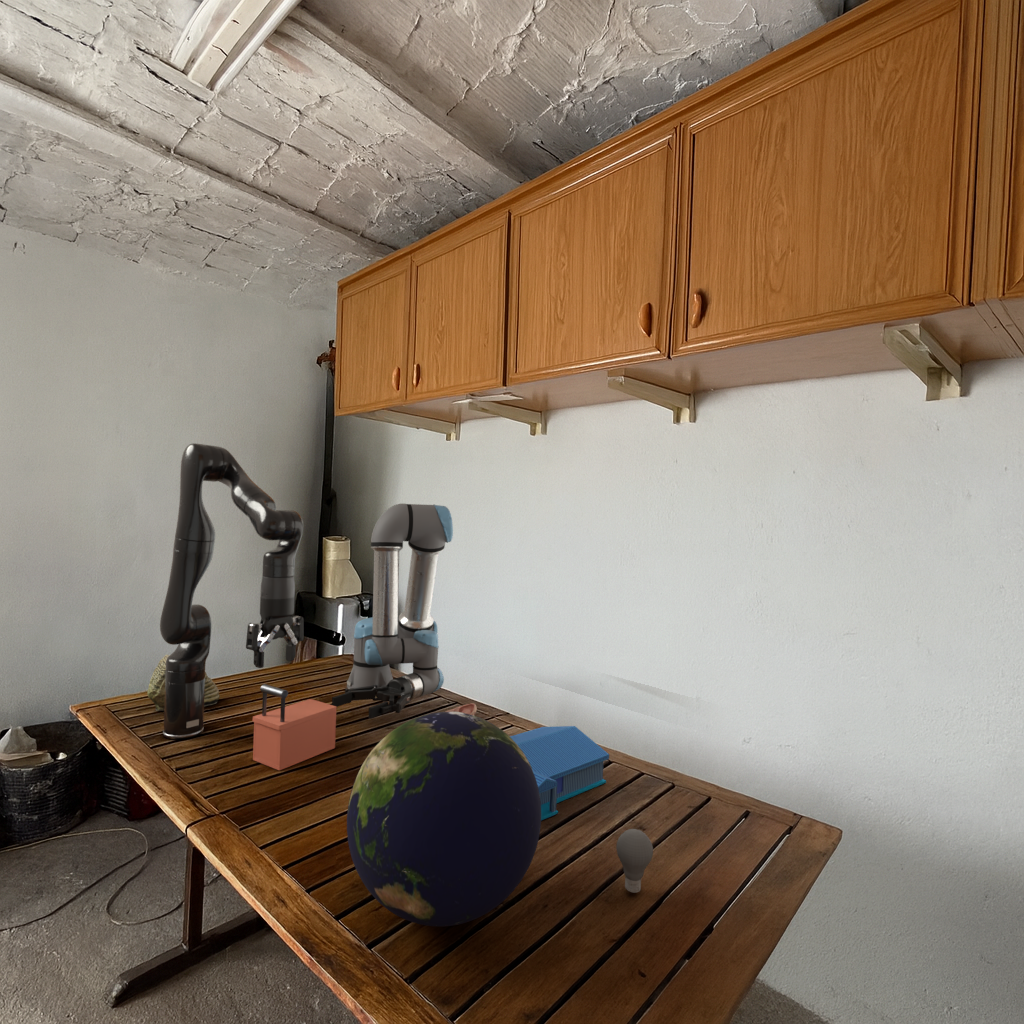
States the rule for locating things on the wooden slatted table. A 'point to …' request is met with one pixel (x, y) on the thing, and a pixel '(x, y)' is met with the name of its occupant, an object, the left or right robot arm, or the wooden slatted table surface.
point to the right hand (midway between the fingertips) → (350, 707)
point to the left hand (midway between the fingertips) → (275, 663)
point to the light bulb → (634, 857)
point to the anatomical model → (465, 709)
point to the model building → (561, 763)
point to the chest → (294, 741)
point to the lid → (289, 710)
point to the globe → (444, 819)
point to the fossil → (158, 687)
